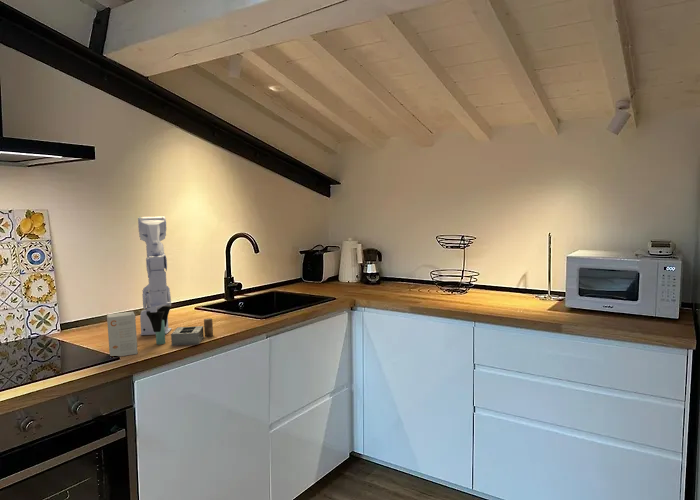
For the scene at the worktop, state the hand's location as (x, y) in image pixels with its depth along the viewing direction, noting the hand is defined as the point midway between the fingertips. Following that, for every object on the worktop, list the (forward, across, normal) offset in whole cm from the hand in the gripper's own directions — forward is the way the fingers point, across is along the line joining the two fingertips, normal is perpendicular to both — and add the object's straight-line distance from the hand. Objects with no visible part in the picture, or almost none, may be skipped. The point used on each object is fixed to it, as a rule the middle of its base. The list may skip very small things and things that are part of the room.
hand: (160, 329), depth 174 cm
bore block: (+5, +1, -9) cm, 10 cm away
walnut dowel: (+5, +8, -15) cm, 18 cm away
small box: (+5, -11, +9) cm, 15 cm away
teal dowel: (+5, 0, 0) cm, 5 cm away
